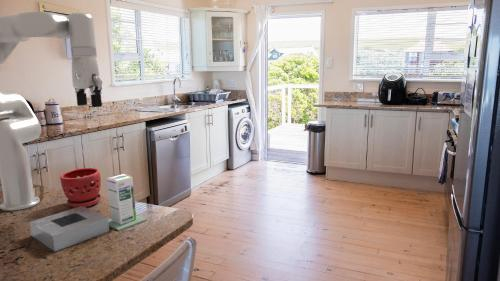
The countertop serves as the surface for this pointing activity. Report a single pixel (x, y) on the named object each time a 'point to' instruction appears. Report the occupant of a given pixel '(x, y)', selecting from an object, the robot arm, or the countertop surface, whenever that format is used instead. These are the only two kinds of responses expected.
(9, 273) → the countertop surface
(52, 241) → the socket block
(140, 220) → the rubber mat
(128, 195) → the syrup box
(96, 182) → the plant pot
